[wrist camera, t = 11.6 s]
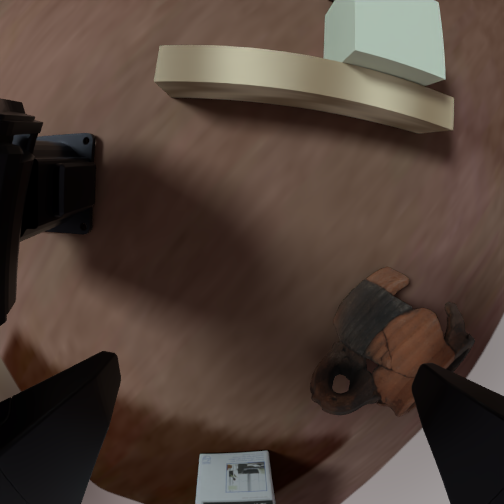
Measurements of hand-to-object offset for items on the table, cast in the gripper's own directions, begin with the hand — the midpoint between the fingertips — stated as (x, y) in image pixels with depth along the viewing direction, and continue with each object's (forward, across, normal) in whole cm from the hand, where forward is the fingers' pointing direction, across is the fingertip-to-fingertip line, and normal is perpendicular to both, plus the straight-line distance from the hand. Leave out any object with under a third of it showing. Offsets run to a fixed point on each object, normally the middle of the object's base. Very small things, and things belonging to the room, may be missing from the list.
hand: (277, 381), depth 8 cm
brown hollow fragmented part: (+12, -9, +5) cm, 16 cm away
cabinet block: (+12, -6, -14) cm, 19 cm away
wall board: (+12, -2, -10) cm, 16 cm away
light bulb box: (+12, -1, +24) cm, 27 cm away
